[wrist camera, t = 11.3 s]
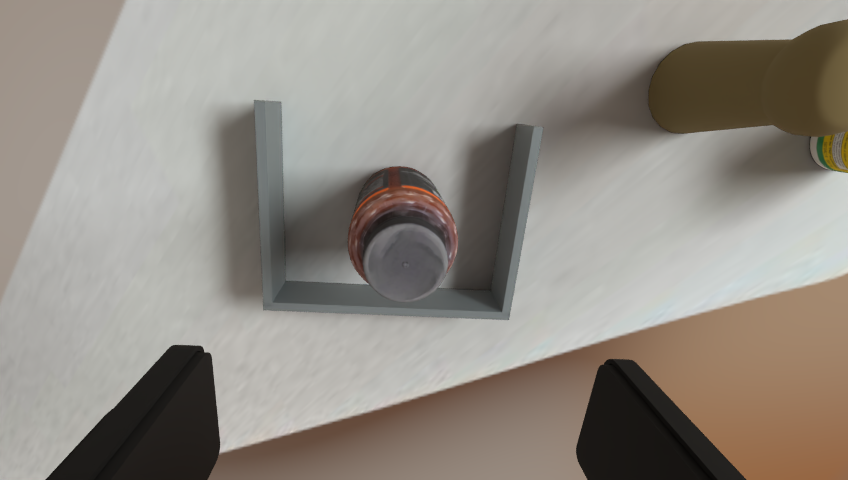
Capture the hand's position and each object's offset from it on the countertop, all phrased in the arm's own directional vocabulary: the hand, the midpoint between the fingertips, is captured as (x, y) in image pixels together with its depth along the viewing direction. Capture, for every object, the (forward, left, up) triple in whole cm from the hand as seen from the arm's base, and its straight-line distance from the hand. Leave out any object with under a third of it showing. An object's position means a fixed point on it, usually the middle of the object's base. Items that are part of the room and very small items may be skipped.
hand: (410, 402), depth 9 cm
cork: (-10, +20, -20) cm, 30 cm away
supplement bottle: (0, 0, -20) cm, 20 cm away
